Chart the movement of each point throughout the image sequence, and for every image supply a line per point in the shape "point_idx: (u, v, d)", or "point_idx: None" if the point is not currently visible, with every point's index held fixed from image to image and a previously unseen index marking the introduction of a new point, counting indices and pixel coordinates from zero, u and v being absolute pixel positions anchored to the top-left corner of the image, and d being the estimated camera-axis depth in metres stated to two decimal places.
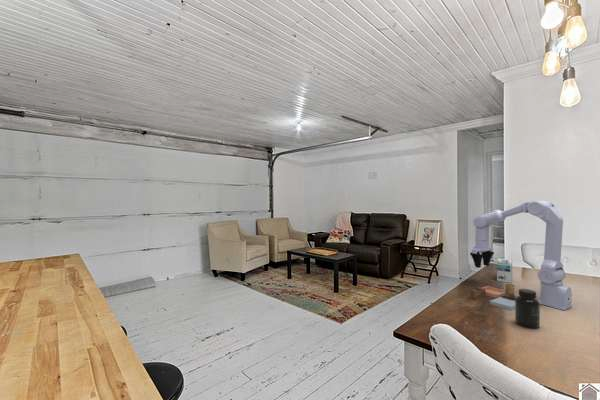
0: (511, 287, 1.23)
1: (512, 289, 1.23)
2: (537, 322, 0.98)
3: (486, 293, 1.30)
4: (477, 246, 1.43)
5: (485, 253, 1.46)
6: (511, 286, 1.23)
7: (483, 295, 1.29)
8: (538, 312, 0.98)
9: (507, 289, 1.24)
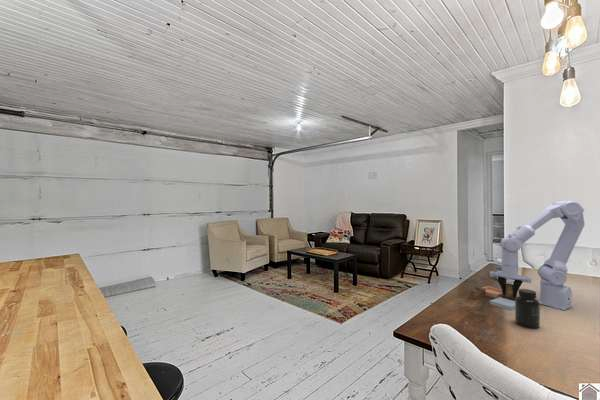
0: (511, 287, 1.23)
1: (512, 289, 1.23)
2: (537, 322, 0.98)
3: (486, 293, 1.30)
4: None
5: None
6: (511, 286, 1.23)
7: (483, 295, 1.29)
8: (538, 312, 0.98)
9: (507, 289, 1.24)
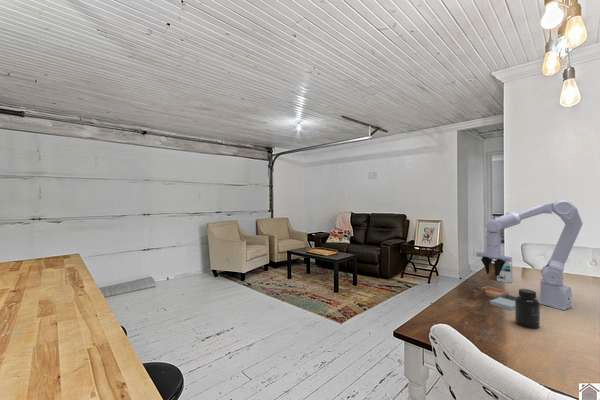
0: (493, 266, 1.30)
1: (494, 268, 1.30)
2: (537, 322, 0.98)
3: (486, 293, 1.30)
4: None
5: None
6: (493, 265, 1.30)
7: (483, 295, 1.29)
8: (538, 312, 0.98)
9: (490, 268, 1.32)
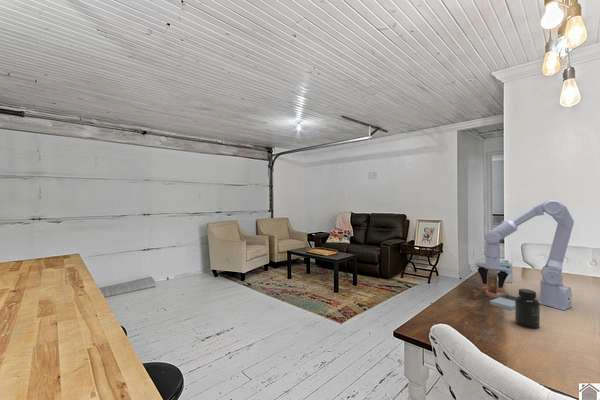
0: (492, 280, 1.31)
1: (493, 282, 1.31)
2: (537, 322, 0.98)
3: (486, 293, 1.30)
4: None
5: None
6: (493, 279, 1.31)
7: (483, 295, 1.29)
8: (538, 312, 0.98)
9: (489, 282, 1.32)
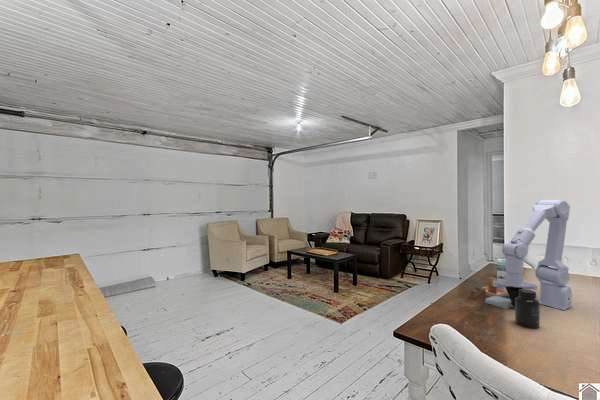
0: (492, 280, 1.31)
1: None
2: (537, 322, 0.98)
3: (486, 293, 1.30)
4: None
5: None
6: (493, 279, 1.31)
7: (483, 295, 1.29)
8: (538, 312, 0.98)
9: (489, 282, 1.32)
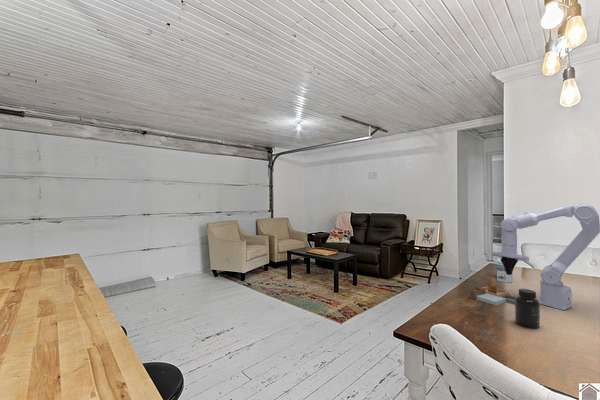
0: (492, 280, 1.31)
1: (493, 282, 1.31)
2: (537, 322, 0.98)
3: None
4: None
5: None
6: (492, 279, 1.31)
7: None
8: (538, 312, 0.98)
9: (489, 282, 1.32)
